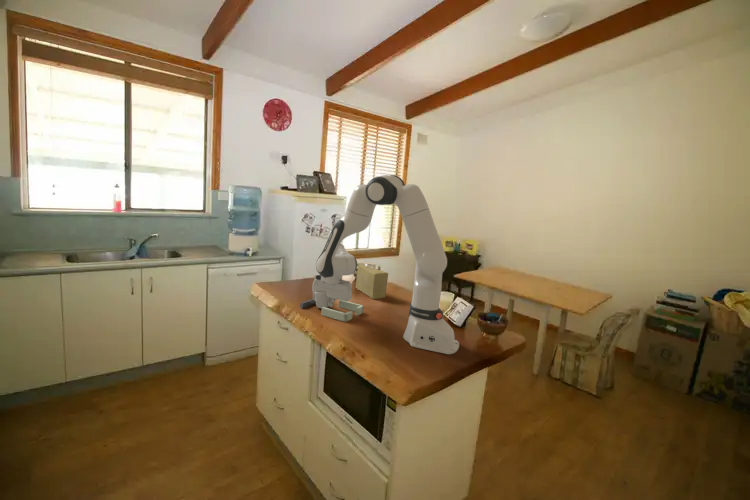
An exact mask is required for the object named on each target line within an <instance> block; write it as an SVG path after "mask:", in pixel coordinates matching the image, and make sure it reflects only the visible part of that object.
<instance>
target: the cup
mask: <svg viewBox="0 0 750 500" xmlns="http://www.w3.org/2000/svg"><path fill="white" fill-rule="evenodd" d="M312 298H313V300H314V301H315V302H316V304H315V305H316V308H318V309H322V307H325V308H330V306H328V297H327V296H326V292H322V293H320V292H315V294H314V293H313V292H312Z"/></svg>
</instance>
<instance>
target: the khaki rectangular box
mask: <svg viewBox="0 0 750 500" xmlns="http://www.w3.org/2000/svg"><path fill="white" fill-rule="evenodd" d="M388 277H389V272H386V271H383V270H380V269H378V268H377V269H376V268H373V267H371V266H370V267H369V266H367V265H364V264H357V270H356V280H355V281H356V282H355V289H356V288H357V289H356V290H358V291H359V290H360V291H359V292H361V291H362V292H361V293H363V294H364V295H366V296H368V297H369V298H370V299H373V300H378V299H385V298H386V296H387V289H388V288H387V286H388V279H389V278H388Z"/></svg>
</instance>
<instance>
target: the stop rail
mask: <svg viewBox="0 0 750 500" xmlns="http://www.w3.org/2000/svg"><path fill="white" fill-rule="evenodd" d="M313 305H316V302H315V301H314V300H313V297H312V298H310V299H307V300H304V301H301V302H300V309H302V310H304V309H305V308H308V307H310V306H313Z"/></svg>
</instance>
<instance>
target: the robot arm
mask: <svg viewBox="0 0 750 500" xmlns="http://www.w3.org/2000/svg"><path fill="white" fill-rule="evenodd" d="M393 204H394V205H395V206H396V207H397V208H398V211H399V213H400V217H401V220H402V221H403V224H404V228H405V230H406V234H407V236H408V239H409V242H410V246H411V248H412V252H413V254H414V257H415V269H414V270H415V271H414V282H413V289H412V297H411V303H409V304H410V305H409V310H408V321H407V324H406V328H405V331H404V333H403V335H402V338H403V339H404V340H405V341H406V342H407V343H408V344H409V345H410V346H411V347H413V348H417V349H421V350H426V351H430V352H431V351H432V352H435V353H441V354H445V355H453V354H455V353H457V352H458V351H459V348H460V342H459V341H458V340H456V339H455V331H454V328H453V327H451V325H450V324H449V323H448V322H447V321H446V320H445V319H444V318H443V317H444V313H445V311H444V309H443V310H442V309H441V308H440V302H441V301H440V300H441V295H442V284H443V282H442V280H443V273H444V272H445V270H446V268H447V267H448V257H447V254H446V252H445V249H444V247H443V244H442V241H441V238H440V236H439V233H438V230H437V228H436V224H435V222H434V218H433V216H432V213H431V209H430V208H429V207H430V206H429V205H428V203H427V200H426V197H425V196H424V194H423V192H422V190H421V189H420V187H419V186H418V185H416V184H413V183H410V184H406V183H405V181H404V180H403V178H401V177H400V176H398V175H393V174H389V175H388V174H385V175H384V174H383V175H380V176H376V177H373V178H371V179H370V180H369V181H368V183H367V184H359V185H357V186H356V187H355V188H354V190H353V191H352V193H351V197H350V198H349V201H348V203H347V208H346V210H345V212H344V214H343V215H342V217H341V218H340V219H339V220H337V221H336V222H335V223H334V224H333V225H334V226H333V227H332V229H331V232H330V234H329V236H328V238H327V240H326V243H325V245H324V248H323V249H322V251H321V254H320V255H319V257H318V258H317V260H316V262H315V269H316V272H317V274H315V275H313V279H314V280H313V282H312V285H311V286H312V288H311V291H312V294H313V293H314V294H315V292H320V293H322V292H326V296H327V297H328V306H330V307H331V308H332V307H333V306H334V302H335V301H336V300H342V301H348V302H350V301H351V300H352V296H353V295H352V288H353V285H352V283H351V282H350V281H349V280H344V279H343V276H344V277H345V276H351V275H353V274H355V273H356V272H357V269H358V262H357V258H356V257H355V256H354V255H353V254H351V253H349V251H347V249H346V248H345V245H344V244H341V243H342V242H343V240H345V239H346V238H347V237H350V236H351V235H355V234H358V233H361V232H363V231H364V230H367V228H368V227H369V225H370V224H371V222H372V219H373V216H374V211H375V208H376V207H377V206H385V205H386V206H390V205H391V206H392V205H393ZM330 307H329V308H330Z"/></svg>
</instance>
